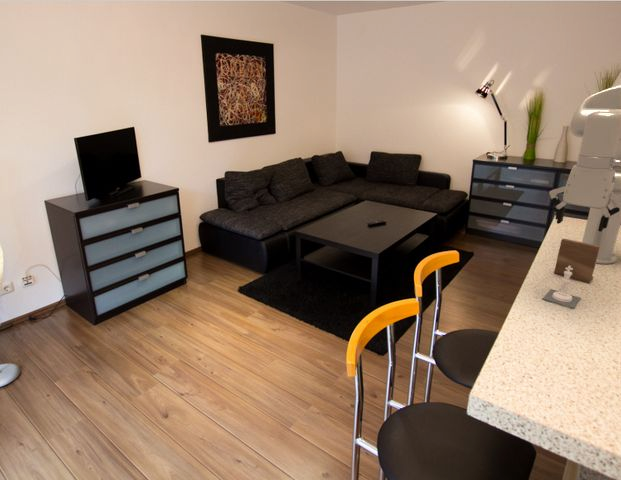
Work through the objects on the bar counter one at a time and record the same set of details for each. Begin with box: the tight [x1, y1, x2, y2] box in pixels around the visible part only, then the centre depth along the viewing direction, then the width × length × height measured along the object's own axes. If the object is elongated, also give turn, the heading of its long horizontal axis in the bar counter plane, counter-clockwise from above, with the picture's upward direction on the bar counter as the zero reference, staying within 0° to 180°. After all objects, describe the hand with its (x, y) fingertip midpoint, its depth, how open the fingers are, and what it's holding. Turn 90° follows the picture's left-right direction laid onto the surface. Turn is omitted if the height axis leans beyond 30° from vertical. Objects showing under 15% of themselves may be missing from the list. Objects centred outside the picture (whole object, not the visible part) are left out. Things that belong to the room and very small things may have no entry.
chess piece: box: [552, 266, 573, 302], centre depth 115 cm, size 5×5×10 cm
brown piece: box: [553, 238, 600, 285], centre depth 129 cm, size 5×10×12 cm, turn 46°
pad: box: [541, 288, 582, 310], centre depth 117 cm, size 8×8×1 cm
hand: (579, 226), depth 110 cm, fingers open, 9 cm apart
